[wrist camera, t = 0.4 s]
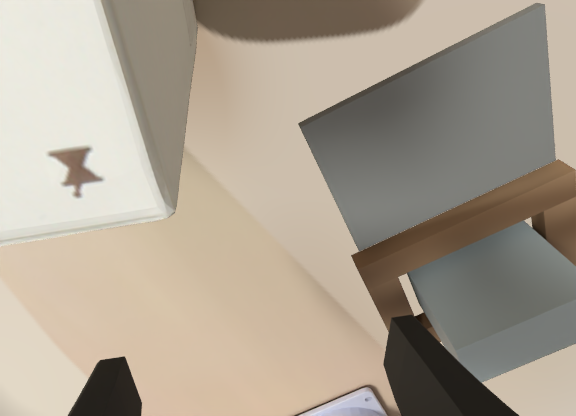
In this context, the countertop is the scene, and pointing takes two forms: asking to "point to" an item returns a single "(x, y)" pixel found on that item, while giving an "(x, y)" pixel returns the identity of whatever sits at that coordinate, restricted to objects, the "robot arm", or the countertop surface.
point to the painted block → (500, 300)
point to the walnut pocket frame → (472, 233)
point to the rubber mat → (439, 130)
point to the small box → (91, 113)
